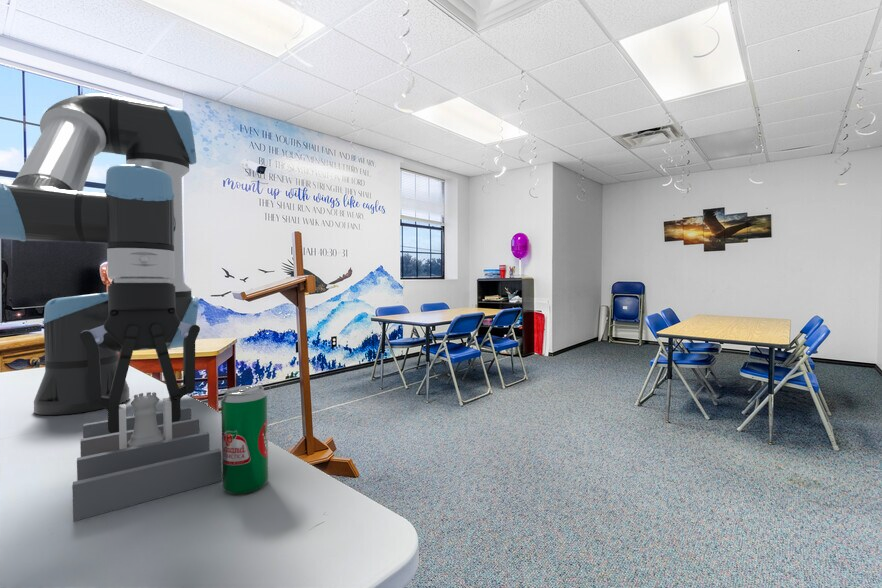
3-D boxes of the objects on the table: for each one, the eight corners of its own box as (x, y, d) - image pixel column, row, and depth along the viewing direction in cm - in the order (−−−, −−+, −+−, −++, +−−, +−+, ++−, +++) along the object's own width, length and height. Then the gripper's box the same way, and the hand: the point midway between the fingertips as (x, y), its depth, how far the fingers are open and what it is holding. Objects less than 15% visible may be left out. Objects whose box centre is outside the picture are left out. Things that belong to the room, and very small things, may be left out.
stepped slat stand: (84, 448, 63) (83, 424, 63) (190, 428, 71) (190, 406, 71) (73, 521, 43) (72, 485, 43) (221, 480, 52) (221, 451, 52)
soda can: (212, 492, 49) (211, 392, 49) (247, 474, 54) (245, 382, 54) (244, 500, 47) (243, 396, 47) (277, 481, 52) (276, 386, 52)
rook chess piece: (139, 446, 59) (138, 391, 59) (172, 445, 60) (171, 390, 59) (117, 459, 55) (116, 399, 55) (153, 457, 55) (152, 398, 55)
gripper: (53, 281, 48) (58, 478, 49) (218, 281, 59) (221, 442, 60) (59, 281, 54) (63, 457, 55) (209, 282, 65) (211, 428, 66)
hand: (146, 449), depth 57 cm, fingers closed on rook chess piece, 4 cm apart
